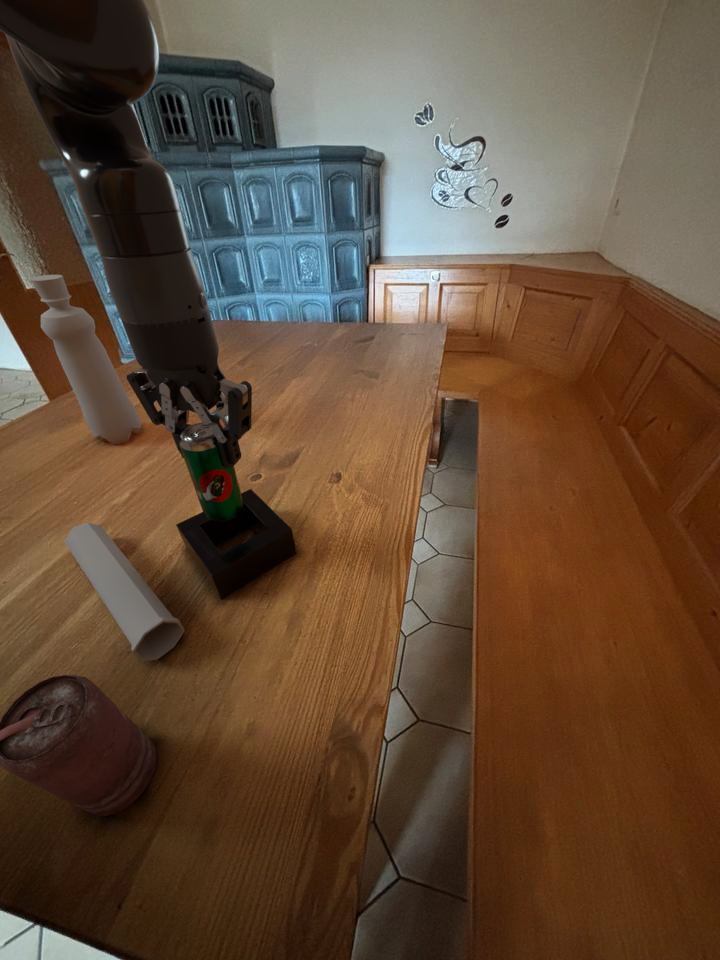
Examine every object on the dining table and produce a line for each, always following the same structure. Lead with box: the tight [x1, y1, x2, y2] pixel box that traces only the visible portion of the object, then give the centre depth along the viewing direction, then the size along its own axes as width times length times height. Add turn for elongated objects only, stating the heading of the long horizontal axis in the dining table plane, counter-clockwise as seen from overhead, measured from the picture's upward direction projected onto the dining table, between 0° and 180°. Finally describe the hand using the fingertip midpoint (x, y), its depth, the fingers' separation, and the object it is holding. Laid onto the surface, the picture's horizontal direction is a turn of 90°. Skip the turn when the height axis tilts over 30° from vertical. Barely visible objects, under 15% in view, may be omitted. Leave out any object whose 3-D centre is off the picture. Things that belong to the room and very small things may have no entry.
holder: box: [176, 488, 297, 600], centre depth 54 cm, size 12×12×5 cm
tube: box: [64, 522, 185, 662], centre depth 49 cm, size 5×5×25 cm
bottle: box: [29, 274, 142, 445], centre depth 71 cm, size 9×9×30 cm
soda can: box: [179, 421, 244, 522], centre depth 46 cm, size 5×5×12 cm
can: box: [0, 674, 157, 817], centre depth 31 cm, size 6×6×14 cm
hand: (211, 459), depth 45 cm, fingers closed on soda can, 5 cm apart
